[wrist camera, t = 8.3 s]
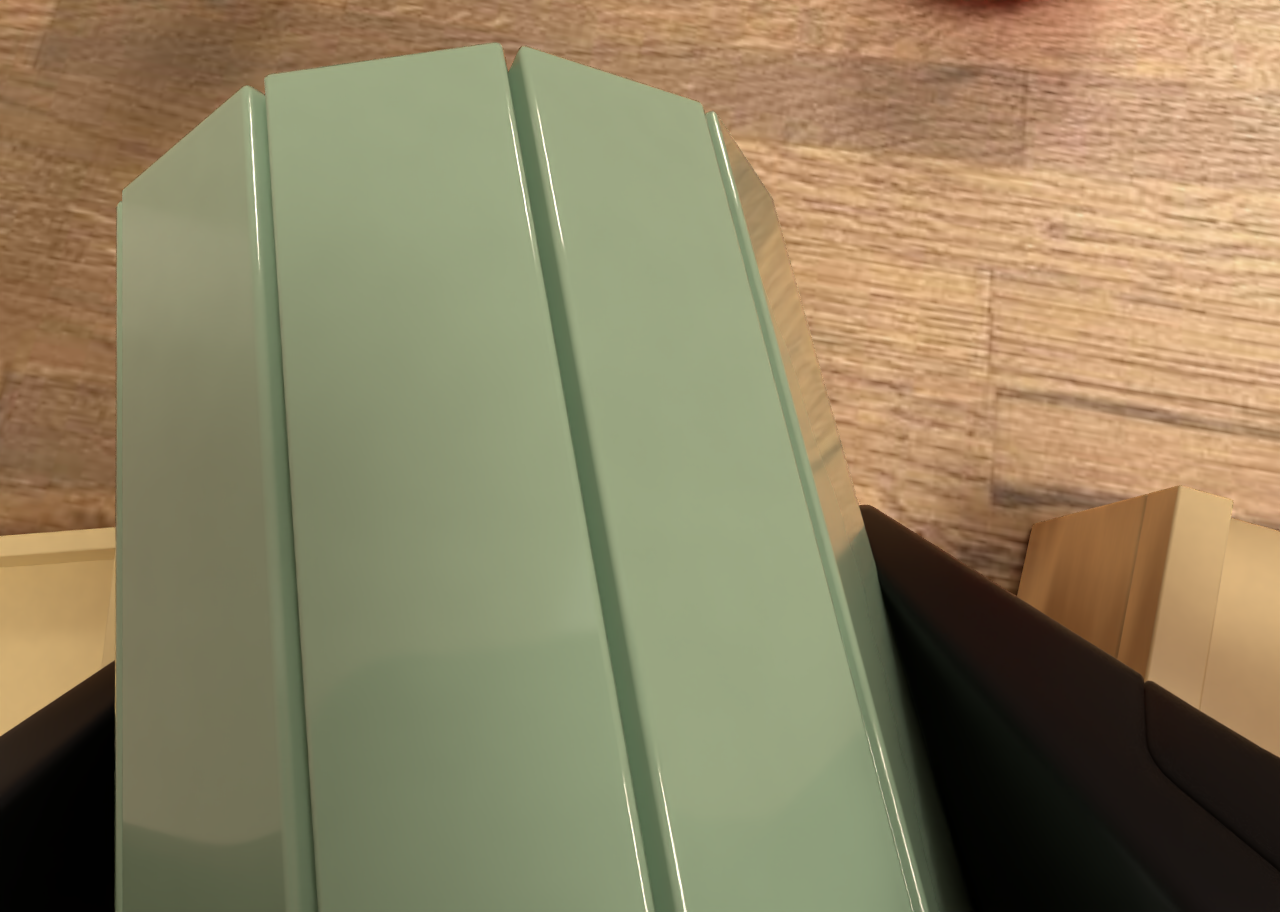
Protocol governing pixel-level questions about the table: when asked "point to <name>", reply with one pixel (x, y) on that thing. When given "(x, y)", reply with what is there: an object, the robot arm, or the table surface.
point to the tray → (53, 616)
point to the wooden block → (1171, 599)
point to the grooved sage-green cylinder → (491, 519)
